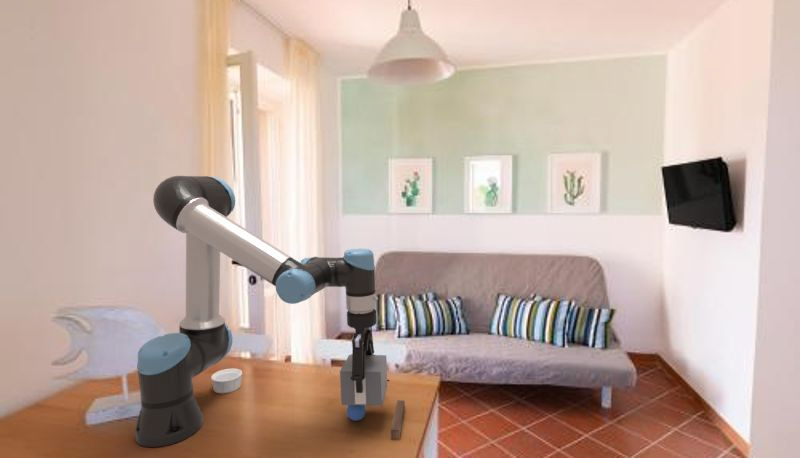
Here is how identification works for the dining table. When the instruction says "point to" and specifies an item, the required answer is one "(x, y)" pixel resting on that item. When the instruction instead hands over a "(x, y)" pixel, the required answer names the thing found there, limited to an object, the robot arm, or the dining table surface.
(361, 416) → the ball
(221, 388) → the ramekin
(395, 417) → the strip
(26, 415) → the dining table surface
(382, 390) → the gray storage cube
